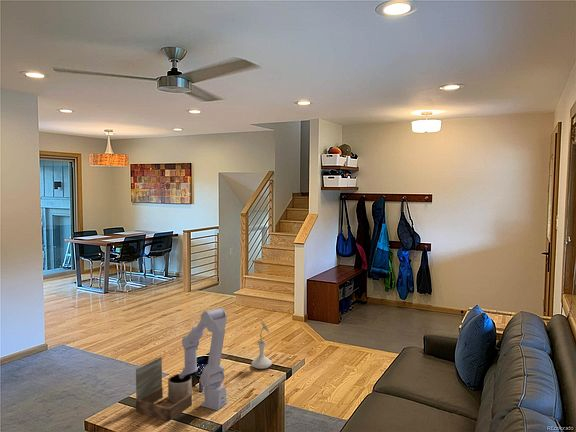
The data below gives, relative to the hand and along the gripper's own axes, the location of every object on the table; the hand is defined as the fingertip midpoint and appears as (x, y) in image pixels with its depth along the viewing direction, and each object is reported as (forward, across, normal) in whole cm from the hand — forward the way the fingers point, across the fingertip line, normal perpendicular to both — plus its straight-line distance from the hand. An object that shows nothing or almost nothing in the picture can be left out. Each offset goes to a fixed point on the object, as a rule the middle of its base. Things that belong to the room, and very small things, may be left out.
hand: (190, 387), depth 205 cm
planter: (+2, +8, 0) cm, 8 cm away
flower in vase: (+2, -42, +16) cm, 45 cm away
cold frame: (+2, +18, 0) cm, 18 cm away
